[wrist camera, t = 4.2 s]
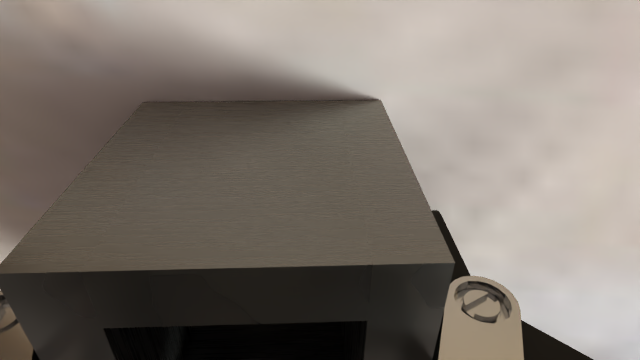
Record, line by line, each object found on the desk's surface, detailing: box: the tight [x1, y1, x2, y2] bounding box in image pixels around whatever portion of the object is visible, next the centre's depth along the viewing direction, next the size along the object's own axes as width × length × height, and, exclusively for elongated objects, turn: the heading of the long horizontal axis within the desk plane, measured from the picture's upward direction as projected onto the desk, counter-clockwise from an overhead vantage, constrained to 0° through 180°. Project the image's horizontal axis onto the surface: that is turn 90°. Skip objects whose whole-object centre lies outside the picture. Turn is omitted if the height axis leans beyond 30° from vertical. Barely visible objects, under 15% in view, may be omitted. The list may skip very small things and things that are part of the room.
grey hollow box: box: [0, 100, 455, 360], centre depth 10 cm, size 6×6×6 cm
